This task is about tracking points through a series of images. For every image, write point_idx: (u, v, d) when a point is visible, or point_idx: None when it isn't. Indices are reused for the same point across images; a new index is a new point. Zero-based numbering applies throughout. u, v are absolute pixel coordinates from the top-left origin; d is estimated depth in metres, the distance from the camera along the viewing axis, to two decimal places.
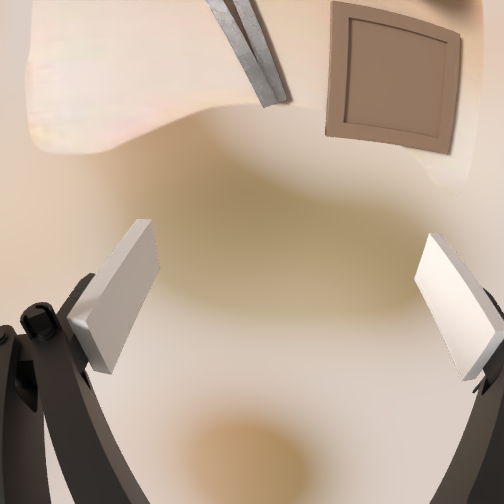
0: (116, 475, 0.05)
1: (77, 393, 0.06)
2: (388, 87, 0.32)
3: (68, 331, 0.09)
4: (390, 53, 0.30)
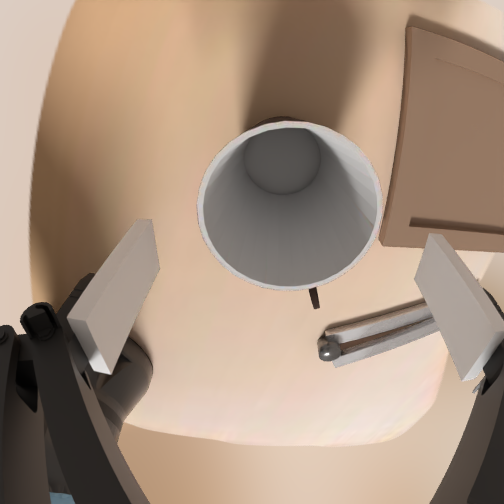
0: (116, 475, 0.05)
1: (77, 393, 0.06)
2: (494, 173, 0.21)
3: (68, 331, 0.09)
4: (457, 165, 0.21)
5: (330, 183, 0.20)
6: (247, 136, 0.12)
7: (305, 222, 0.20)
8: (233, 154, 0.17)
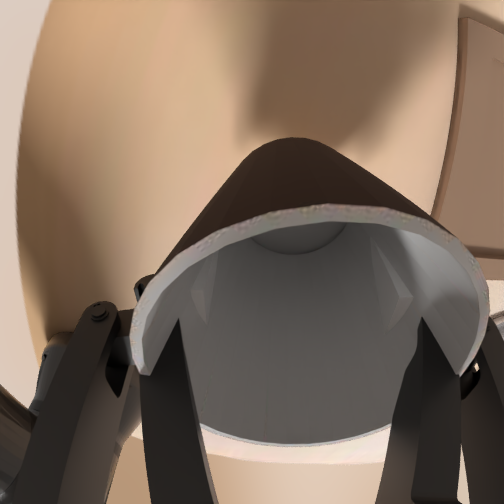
0: (203, 462, 0.05)
1: (182, 373, 0.07)
2: None
3: None
4: None
5: (369, 251, 0.13)
6: (222, 242, 0.05)
7: (328, 313, 0.13)
8: None
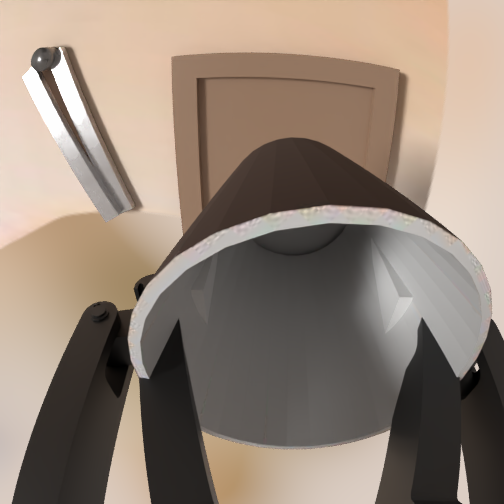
0: (203, 462, 0.05)
1: (182, 373, 0.07)
2: None
3: None
4: (269, 123, 0.24)
5: (369, 252, 0.12)
6: (221, 244, 0.05)
7: (328, 314, 0.13)
8: None
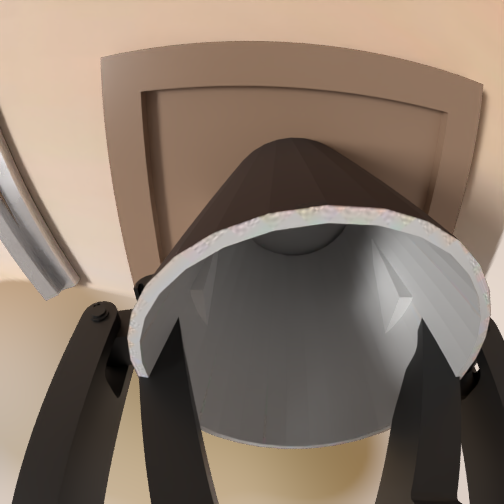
0: (203, 462, 0.05)
1: (182, 373, 0.07)
2: None
3: None
4: None
5: (369, 252, 0.13)
6: (220, 244, 0.05)
7: (328, 314, 0.13)
8: None
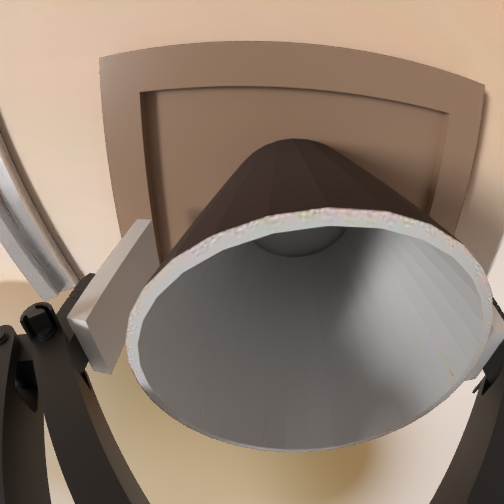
0: (116, 475, 0.05)
1: (77, 393, 0.06)
2: None
3: (68, 331, 0.09)
4: None
5: (371, 254, 0.12)
6: (218, 247, 0.05)
7: (329, 316, 0.13)
8: None
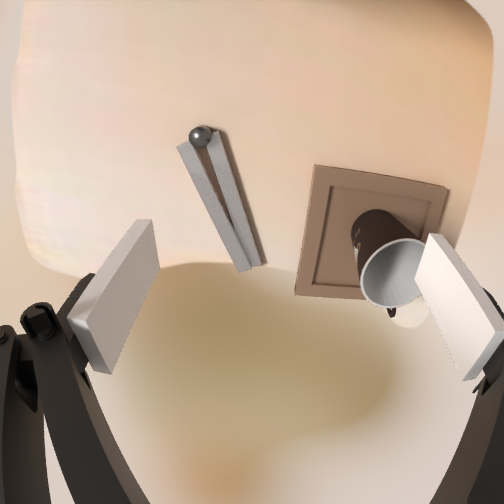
0: (116, 475, 0.05)
1: (77, 393, 0.06)
2: None
3: (68, 331, 0.09)
4: None
5: (401, 251, 0.36)
6: (391, 243, 0.28)
7: (388, 271, 0.36)
8: None
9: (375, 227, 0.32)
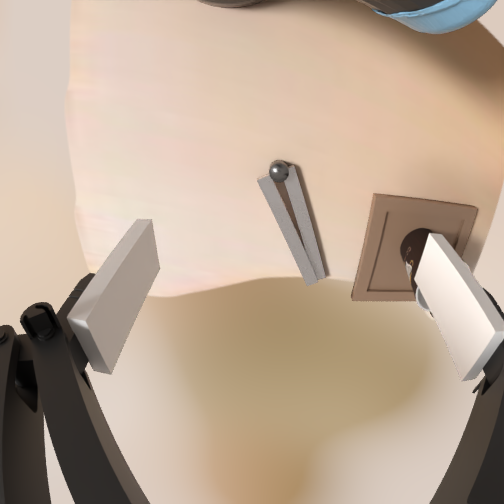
0: (116, 475, 0.05)
1: (77, 393, 0.06)
2: None
3: (68, 331, 0.09)
4: None
5: None
6: None
7: None
8: None
9: None
